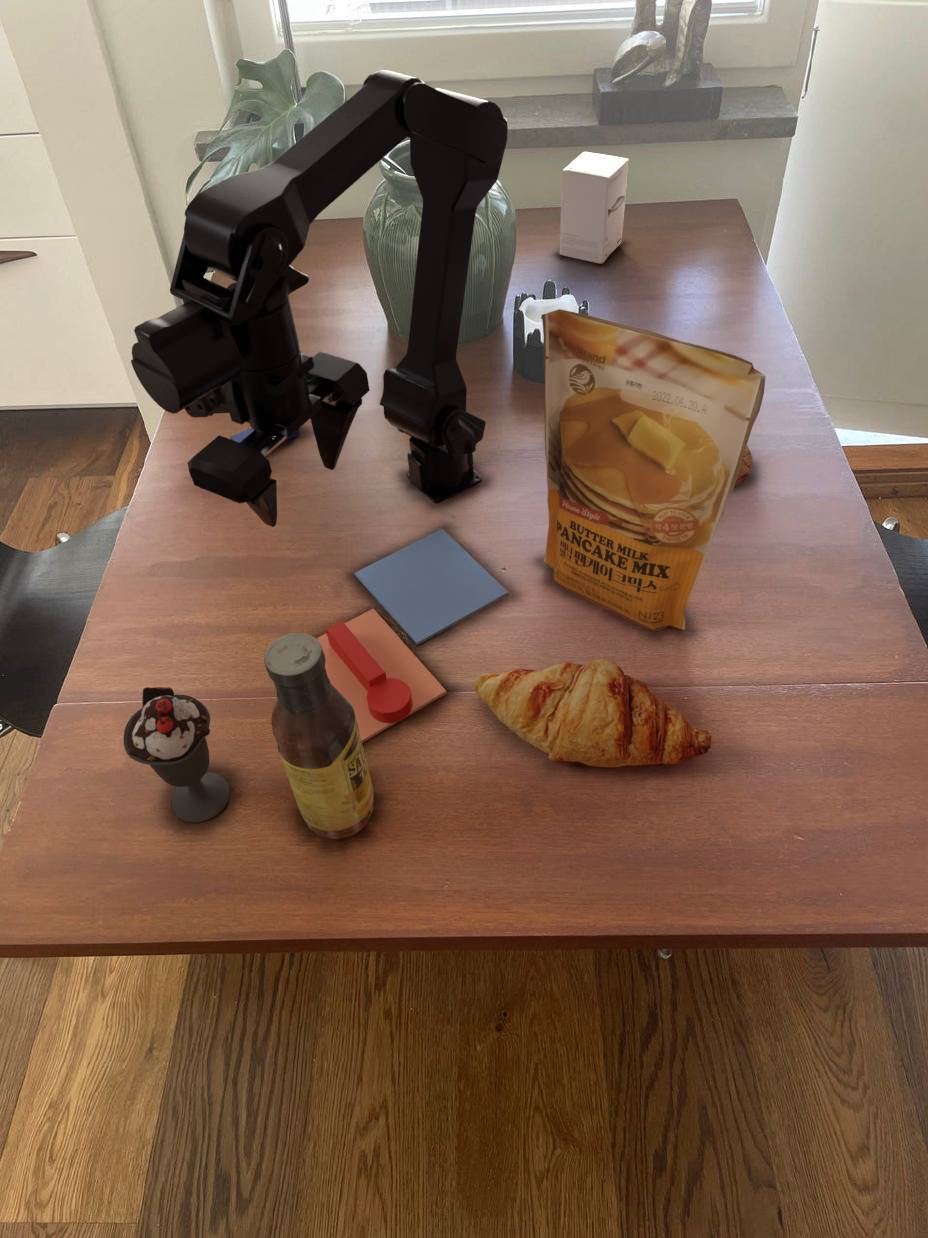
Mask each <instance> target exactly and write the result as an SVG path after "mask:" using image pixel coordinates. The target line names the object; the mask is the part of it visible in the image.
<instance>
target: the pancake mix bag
mask: <svg viewBox="0 0 928 1238" xmlns="http://www.w3.org/2000/svg"><path fill="white" fill-rule="evenodd" d="M540 316H541V320H542V331H543V332H542V333H543V362H542V363H543V366H542V367H543V374H544V402H543V404H544V405H543V406H544V407H543V413H544V456H545V463H546V484H547V485H546V487H547V500H546V501H547V508H548V528H547V535H546V536H547V537H546V546H545V552H544V555H543V558H542V562H543V563H544V564H545V565H547V566H548V567H549V568H551V569H553V581H554V582H555V583H556V584H559V586H560V587H562V588H563V589H565V590H566V591H569V592H571V593H573V594H574V595H577V596H579V597H581V598H582V599H585V600H586V601H588V602H591V603H593V604H594V605H597V606H598V607H601V608H603V609H605V610H608V611H609V612H612V613H614V614H616V615H618V616H620V617H621V618H623V619H625V620H627V621H629V622H631V623H633V624H635V625H636V626H640V627H642V628H644V629H647V630H649V631H652V632H655V633H656V632H659V631H662V630H664V629H667V628H669V627H670V628H674V629H678V630H683V631H686V615H685V608H686V606H687V604H688V603H689V600H690V598H691V595H692V594H693V591H694V589H695V586H696V585H697V582H698V580H699V578H700V575H701V571H702V569H703V566H704V563H705V560H706V558H707V554H708V553H709V550H710V547H711V545H712V543H713V540H714V538H715V535H716V532H717V530H718V528H719V526H720V523H721V521H722V518H723V516H724V513H725V510H726V505H727V503H728V501H729V499H730V497H731V495H732V493H733V491H734V489H735V486H736V485H735V482H736V479H737V476H738V472H739V469H740V465H741V462H742V459H743V455H744V452H745V449H746V446H748V442H749V439H750V436H751V433H752V429H753V427H754V424H755V423H756V420H757V419H758V415H759V414H760V411H761V407H762V403H763V399H764V394H765V387H766V375H765V374H764V373H762V372H760V371H759V370H757V369H756V368H755V366H754V364H753V362H752V361H748V360H747V359H744V358H742V357H740V356H737V355H736V354H732V353H728V352H725V351H721V350H719V349H714V348H710V347H706V346H703V345H699V344H695V343H690V342H687V341H682V340H680V339H676V338H673V337H670V336H667V335H664V334H661V333H658V332H655V331H652V330H649V329H645V328H641V327H637V326H633V325H630V324H625V323H621V322H618V321H617V322H616V321H612V320H609V319H605V318H600V317H596V316H592V315H588V314H584V313H579V312H575V311H570V310H567V309H562V308H561V309H560V308H559V309H555V310H553V311H550V312H546V313H543V314H541V315H540Z"/></svg>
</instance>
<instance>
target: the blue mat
mask: <svg viewBox="0 0 928 1238" xmlns="http://www.w3.org/2000/svg"><path fill="white" fill-rule="evenodd" d="M354 576H355V578H357V580H358V581H359V582H360V583H361V584H362V586H364V588H366V590H367V591H368V592H369V593H370V594H371V596H373V597H374V599H375V601H376V602H377V603H379V605H380V606H381V607H382V608H383V609H384V610H385V611H386V612H387V614H388V615H389V616H390V617H391V618H392V619H393V620H394V621H395V623H396V624H398V625H399V627H400V628H401V629H402V630H403V631H404V632H405V634H407V635H408V637H409V638H410V639H411V640H412V641H413V642H414V643H415V644H416V646H419V645H421V644H423V643H425V642H427V641H428V640H430V639H432V638H434V637H435V636H438V635H439V634H441V633H442V632H444V631H446V630H448V629H450V628H452V627H453V626H455V625H457V624H459V623H460V622H462V621H464V620H466V619H468V618H470V617H471V616H473V615H475V614H476V613H478V612H480V611H482V610H484V609H486V608H487V607H489V606H492V605H493V604H494V603H497V602H498V601H500V600H502V599H504V598H506V597H507V596H509V595H510V594H509V593H510V592H509V591H508V590H507V589H506V588H505V587H504V586H503V585H502V584H501V583H500V582H499V581H497V579H496V578H494V577H493V575H491V574H490V573H489V572H488V571H487V570H486V569H485V568H484V567H483V566H482V565H481V564H480V563H479V562H478V561H477V560H475V558H474V557H473V556H471V554H469V553H468V552H467V551H466V550H465V549H464V548H463V547H462V546H461V545H460V544H459V543H458V542H457V541H456V540H454V538H453V537H452V536H450V534H449V533H447V532H446V531H445V530H444V529H443V528H439V529H438V530H436V531H434V532H432V533H430V534H428V535H426V536H424V537H422V538H420V539H418V540H417V541H414V542H413V543H411V544H408V545H406V546H404V547H403V548H401V549H398V550H397V551H395V552H392V553H391V554H389V555H387V556H385V557H383V558H381V559H379V560H376V561H374V562H373V563H371V564H370V565H367V566H365V567H363V568H361V569H359V570H357V571H356V572H354Z"/></svg>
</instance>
